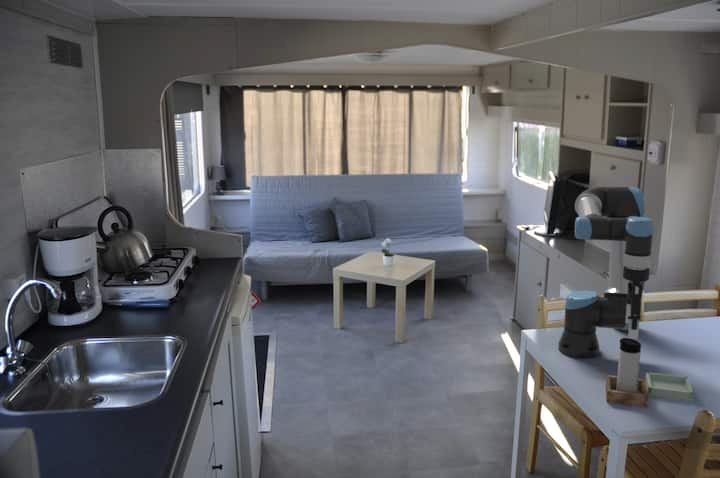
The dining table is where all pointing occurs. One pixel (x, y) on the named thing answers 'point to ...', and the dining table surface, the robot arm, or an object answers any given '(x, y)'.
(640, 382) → the holder
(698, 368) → the dining table surface
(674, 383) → the tray
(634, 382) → the travel mug
